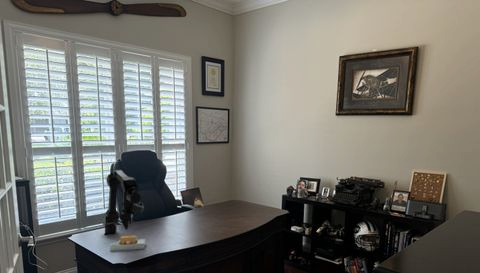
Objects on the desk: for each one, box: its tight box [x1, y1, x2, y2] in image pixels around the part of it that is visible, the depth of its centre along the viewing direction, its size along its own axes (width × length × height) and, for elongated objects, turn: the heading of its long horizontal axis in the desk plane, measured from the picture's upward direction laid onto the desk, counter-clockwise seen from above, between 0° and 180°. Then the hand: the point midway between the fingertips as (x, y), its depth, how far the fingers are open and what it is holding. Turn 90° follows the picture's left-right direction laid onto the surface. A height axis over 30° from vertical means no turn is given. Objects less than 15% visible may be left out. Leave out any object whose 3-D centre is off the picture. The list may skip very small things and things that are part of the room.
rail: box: [109, 238, 146, 252], centre depth 161 cm, size 18×7×3 cm, turn 102°
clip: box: [119, 235, 137, 244], centre depth 161 cm, size 8×3×6 cm, turn 102°
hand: (128, 226), depth 162 cm, fingers open, 9 cm apart
